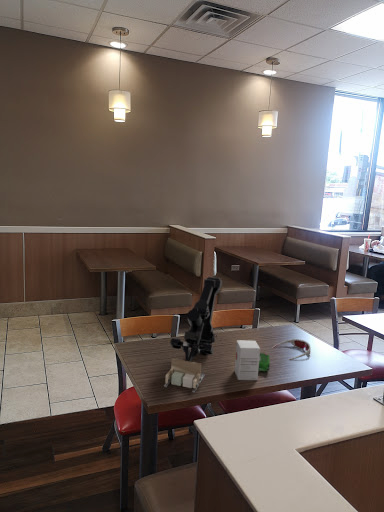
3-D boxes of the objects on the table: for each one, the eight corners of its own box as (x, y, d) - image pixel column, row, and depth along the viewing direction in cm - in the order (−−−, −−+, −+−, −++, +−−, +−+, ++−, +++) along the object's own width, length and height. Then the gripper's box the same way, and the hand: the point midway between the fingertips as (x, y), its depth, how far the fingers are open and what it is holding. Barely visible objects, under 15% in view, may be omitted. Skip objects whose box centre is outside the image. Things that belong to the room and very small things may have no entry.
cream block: (185, 382, 169) (185, 373, 169) (194, 383, 168) (195, 375, 168) (182, 386, 166) (183, 377, 165) (191, 388, 165) (192, 379, 164)
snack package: (252, 374, 180) (253, 363, 179) (254, 359, 195) (255, 349, 195) (268, 376, 179) (269, 365, 178) (269, 361, 194) (270, 351, 193)
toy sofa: (170, 374, 173) (171, 358, 172) (201, 380, 170) (202, 363, 168) (164, 383, 166) (165, 365, 165) (196, 389, 162) (197, 371, 161)
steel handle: (176, 370, 180) (176, 369, 180) (204, 375, 176) (204, 374, 176) (164, 386, 165) (164, 385, 165) (194, 392, 161) (194, 391, 161)
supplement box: (233, 370, 182) (236, 339, 180) (253, 371, 183) (255, 340, 180) (237, 380, 173) (240, 347, 171) (257, 380, 174) (260, 348, 171)
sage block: (174, 380, 171) (174, 371, 170) (183, 381, 170) (183, 373, 169) (171, 384, 167) (171, 375, 166) (180, 386, 166) (180, 377, 165)
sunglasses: (317, 357, 202) (317, 348, 201) (289, 366, 197) (289, 357, 195) (297, 344, 218) (296, 335, 217) (270, 352, 212) (269, 344, 211)
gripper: (172, 320, 176) (162, 353, 167) (213, 326, 170) (205, 360, 162) (177, 331, 184) (168, 363, 176) (216, 337, 179) (209, 370, 171)
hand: (186, 364), depth 171 cm, fingers closed, pressing on toy sofa
